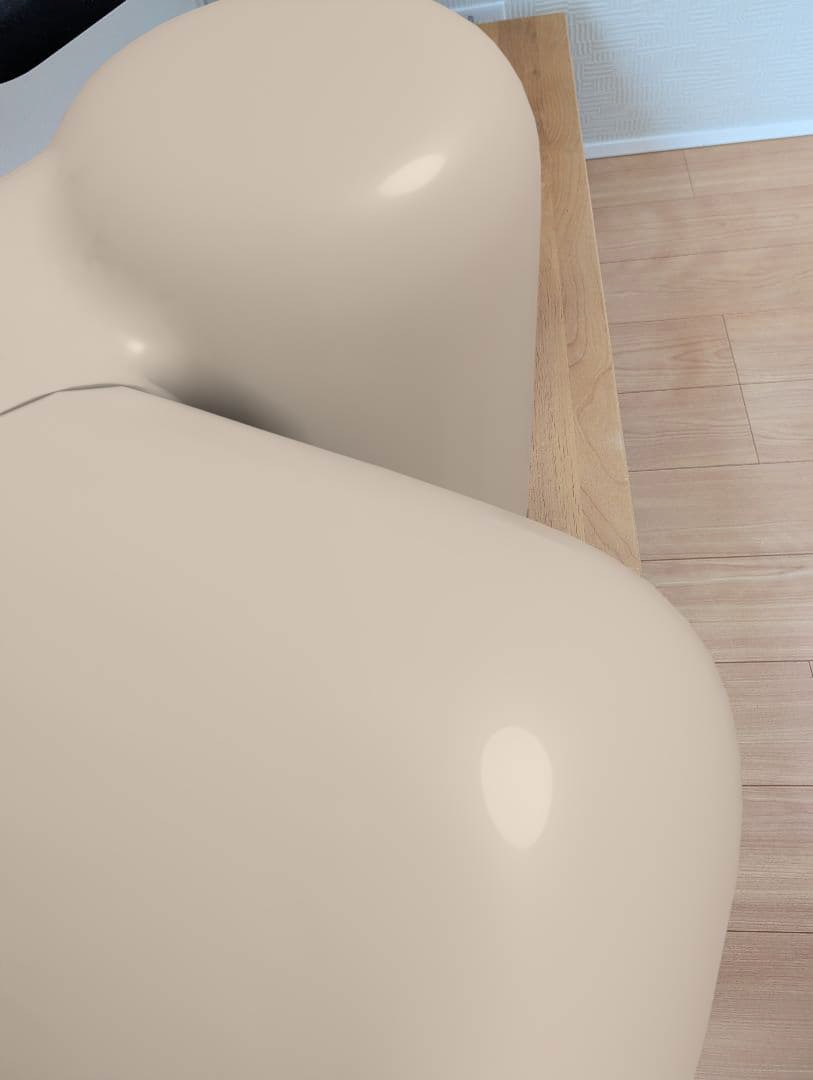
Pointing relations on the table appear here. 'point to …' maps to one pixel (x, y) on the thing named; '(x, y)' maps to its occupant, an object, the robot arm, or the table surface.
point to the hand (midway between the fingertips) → (436, 729)
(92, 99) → the robot arm
